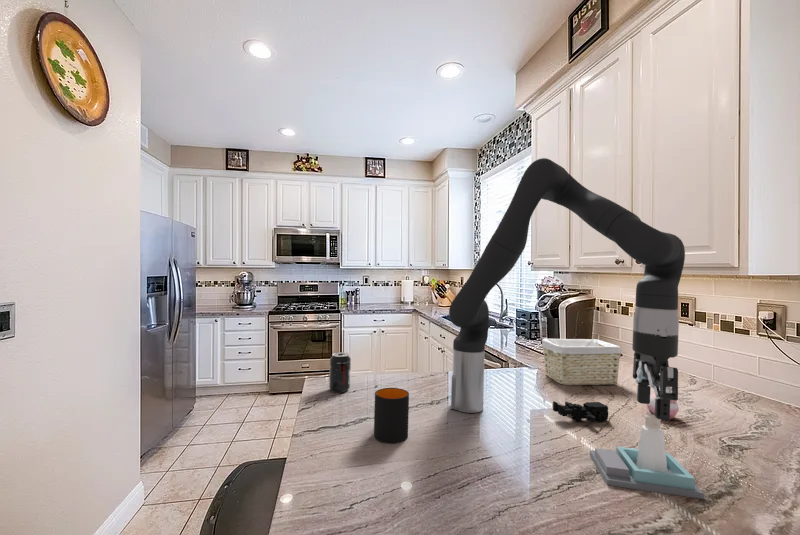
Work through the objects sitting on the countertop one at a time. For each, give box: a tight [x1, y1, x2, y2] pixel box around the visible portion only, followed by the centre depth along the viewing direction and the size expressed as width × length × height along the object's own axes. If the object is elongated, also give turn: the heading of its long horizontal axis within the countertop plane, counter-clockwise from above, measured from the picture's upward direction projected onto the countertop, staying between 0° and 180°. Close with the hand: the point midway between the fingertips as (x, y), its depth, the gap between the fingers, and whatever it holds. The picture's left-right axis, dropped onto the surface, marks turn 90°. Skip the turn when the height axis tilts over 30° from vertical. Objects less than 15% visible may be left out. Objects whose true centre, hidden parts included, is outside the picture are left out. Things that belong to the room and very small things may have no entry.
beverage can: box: [328, 351, 352, 394], centre depth 121 cm, size 7×7×12 cm
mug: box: [373, 387, 410, 445], centre depth 90 cm, size 8×12×10 cm
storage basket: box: [541, 337, 622, 386], centre depth 141 cm, size 24×16×15 cm
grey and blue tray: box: [589, 446, 705, 500], centre depth 74 cm, size 16×12×3 cm
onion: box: [646, 392, 679, 420], centre depth 105 cm, size 8×8×7 cm
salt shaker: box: [636, 414, 668, 472], centre depth 74 cm, size 5×5×11 cm
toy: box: [552, 401, 609, 424], centre depth 101 cm, size 12×5×15 cm
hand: (652, 410), depth 73 cm, fingers open, 8 cm apart
